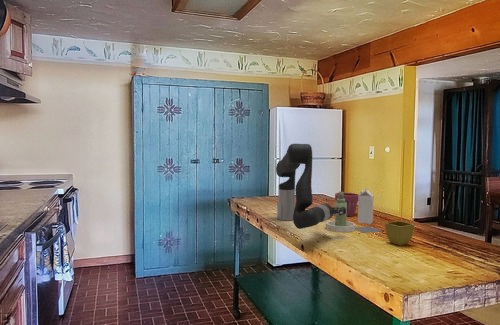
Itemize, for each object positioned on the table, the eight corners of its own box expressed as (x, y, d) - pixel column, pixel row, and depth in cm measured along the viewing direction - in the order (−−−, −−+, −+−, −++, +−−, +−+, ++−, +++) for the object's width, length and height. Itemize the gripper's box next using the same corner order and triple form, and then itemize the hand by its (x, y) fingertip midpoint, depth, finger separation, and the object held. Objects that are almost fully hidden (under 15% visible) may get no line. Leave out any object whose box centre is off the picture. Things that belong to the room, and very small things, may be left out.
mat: (363, 233, 183) (363, 232, 183) (351, 228, 193) (351, 227, 193) (383, 232, 186) (383, 231, 186) (370, 227, 196) (370, 226, 196)
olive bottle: (338, 229, 188) (338, 192, 187) (332, 226, 193) (333, 191, 192) (348, 228, 189) (349, 192, 188) (342, 226, 194) (343, 190, 193)
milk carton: (372, 222, 209) (373, 187, 208) (371, 224, 202) (372, 189, 201) (359, 220, 212) (360, 187, 211) (357, 223, 205) (358, 188, 204)
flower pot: (399, 247, 159) (400, 226, 159) (383, 242, 167) (384, 222, 167) (414, 244, 163) (414, 224, 163) (397, 240, 171) (398, 220, 171)
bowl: (334, 233, 182) (334, 227, 182) (321, 227, 196) (321, 221, 196) (361, 231, 186) (361, 225, 186) (346, 225, 200) (346, 219, 200)
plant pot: (356, 212, 235) (357, 192, 234) (361, 217, 221) (361, 195, 220) (333, 212, 236) (333, 192, 236) (336, 216, 222) (336, 195, 222)
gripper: (337, 206, 167) (349, 201, 180) (307, 203, 175) (322, 199, 188) (336, 223, 167) (349, 217, 180) (307, 219, 175) (321, 214, 188)
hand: (335, 208), depth 184 cm, fingers open, 8 cm apart
